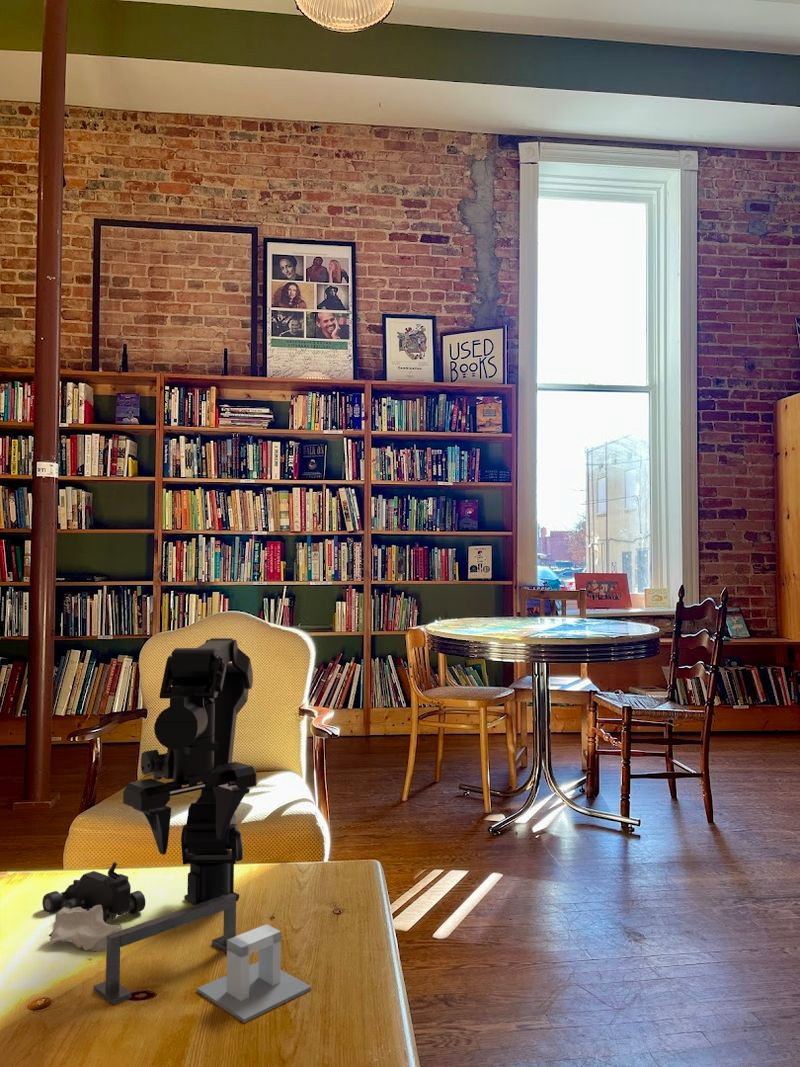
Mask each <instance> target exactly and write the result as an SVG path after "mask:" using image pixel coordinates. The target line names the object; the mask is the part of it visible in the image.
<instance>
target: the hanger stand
mask: <svg viewBox="0 0 800 1067" xmlns="http://www.w3.org/2000/svg"><path fill="white" fill-rule="evenodd" d="M220 912H223V935H221V936H219V937H216V938H214V939H212V940H211V945H212V946H214V947H216V948H217V949H220V951H222V952H225V953H226V954H227V940H228V939H230V938H233V937H235V936H237V934H236V933H237V932H236V931H237V899H236V895H235V894H232V893H230V894H227V895H223V896H220V897H217V898H214V899H211V900H208V901H205V902H203V903H200V904H197V905H195V904H193V905H191V906H188V907H186V908H182V909H179V910H177V911H174V912H171V913H168V914H165V915H162V916H159V917H155V918H153V919H150V920H147V921H145V922H141V923H138V924H136V925H135V924H134V925H133V926H130V927H126V928H124V929H121V931H118V932H116V933H113V934H110V935H107V949H106V950H105V951H106V955H105V956H106V957H105V981H102V982H100V983H97V984H95V985H93V992H94V993H96V994H97V995H98V996H100V997H101V998H102V999H103V1000H105V1001H106V1002H107V1003H108V1004H110V1005H111V1006H116V1005H119V1004H120V1003H122V1002H125V1001H127V1000H130V999H132V992H131V991H130V990H128V989H127V988H126V987H124V986H123V985H122V984H121V983H120V980H121V979H120V978H121V976H120V974H121V948H123V947H125V946H129V945H131V944H134V943H137V942H140V941H143V940H145V939H148V938H152V937H154V936H156V935H159V934H161V933H162V934H163V933H165V932H167V931H171V930H173V929H176V928H178V927H182V926H185V925H187V924H189V923H192V922H196V921H198V920H200V919H201V920H202V919H204V918H207V917H210V916H212V915H215V914H218V913H220Z"/></svg>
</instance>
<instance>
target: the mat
mask: <svg viewBox="0 0 800 1067" xmlns="http://www.w3.org/2000/svg"><path fill="white" fill-rule="evenodd" d="M258 967H259V961H256V962H253V963H252V964H249V997H248V998H246V999H244V1000H242V1001H240V1000H238V999H237V998H235V997H234V996H232V995H230V994H229V993H227V992H226V982H227V974H226V975H224V976H222V977H219V978H217V979H214V980H212V981H210V982H208V983H205V984H203V985H201V986H198V987H197V988H196V992H197V993H199V994H200V995H201V996H202V997H205V998H207V1000H209V1001H210V1002H212V1003H213V1004H215V1005H216V1006H218V1007H220V1009H222V1010H224V1011H226V1012H227V1013H228V1014H230V1015H232V1016H234V1017H235V1018H236V1019H238V1020H239V1021H241V1022H242V1023H244V1024H245V1023H247V1022H249V1021H251V1020H253V1019H255V1018H257V1017H259V1016H261V1015H263V1014H265V1013H267V1012H269V1011H271V1010H273V1009H275V1008H277V1007H279V1006H281V1005H284V1004H285V1003H287V1002H290V1001H292V1000H293V999H296V998H297V997H300V996H301V995H303V994H306V993H308V992H310V991H311V990H312V985H309V984H308V983H306V982H304V981H302V979H299V978H297V977H295V976H293V975H292V974H290V973H288V972H286V971H285V970H282V969H281V982H280V983H278V984H276V985H274V986H272V985H270V984H269V983H267V982H265V981H264V980H262V979H260V978H258Z"/></svg>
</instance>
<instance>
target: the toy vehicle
mask: <svg viewBox="0 0 800 1067" xmlns="http://www.w3.org/2000/svg"><path fill="white" fill-rule="evenodd" d="M117 865H118V863H117V862H116V861H114V862H113V863H112V865H111V867H110V868H109V869H108V872H107V874H104V873H100V872H98V871H95V870H93V871H92V870H91V871H89V872H86V873H84V874H82V875H81V877H80V879H74V880H73V881H72V882H73V883H72V884H70V885H68V886H67V888H66V889H65V890H64V891H62V892H59V891H56V890H55V891H51V892H47V893H46V894H44V896H43V897H42V908H43V911H44V912H45V913H48V914H54V913H57V912H59V911H60V910H61V909H62V908H64V907H65V908H68V909H72V908H76V907H81V908H82V909H85V910H86V911H89V910H91V909H92V908H93V907H94V906H96V905H101V906H102V910H103V921H104V922H105V923H106V924H108V922H109V921H111V920H113V919H116V918H117V917H118V916H119V917H121V916H123V915H126V914H130V915H135V914H138V913H140V912H142V911H143V910H144V909H145V908H146V897H145V895H144V893H143V892H142V891H140V890H135V891H133V892H131V890H132V888H131V883H130V882H129V876H127V875H124V874H122V873H117V872H115V870H116V868H117ZM117 915H118V916H117Z"/></svg>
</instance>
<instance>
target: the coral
mask: <svg viewBox="0 0 800 1067" xmlns="http://www.w3.org/2000/svg"><path fill="white" fill-rule="evenodd" d="M88 910H89V909H88ZM88 910H85V909H82V908H81V907H76V908H72V909H68V908H65V907H64V908H63V907H61V909H60V910H59V911H57V912H56V913H55V918H54V921H55V922H54V926H53V928H52V931H51V933H49V934H48V936H49V937H50V938H49V943H48V945H53V944H56V943H64V942H72V943H73V945H75V946H76V947H77V948H78V949H82V948H83V950H85V952H86V951H88V950H89V951H93V952H95V953H96V952H99V951H106V949H107V935H110V934H113V933H116V932H118V931H121V930H123V929H122V928H123V925H119V924H113V925H112V924H110V923H109V924H108V923H105V922H104V921H103V910H102V906H101V905H96V906H94V907H93V908H92V909H91V910H89V911H88Z"/></svg>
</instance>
